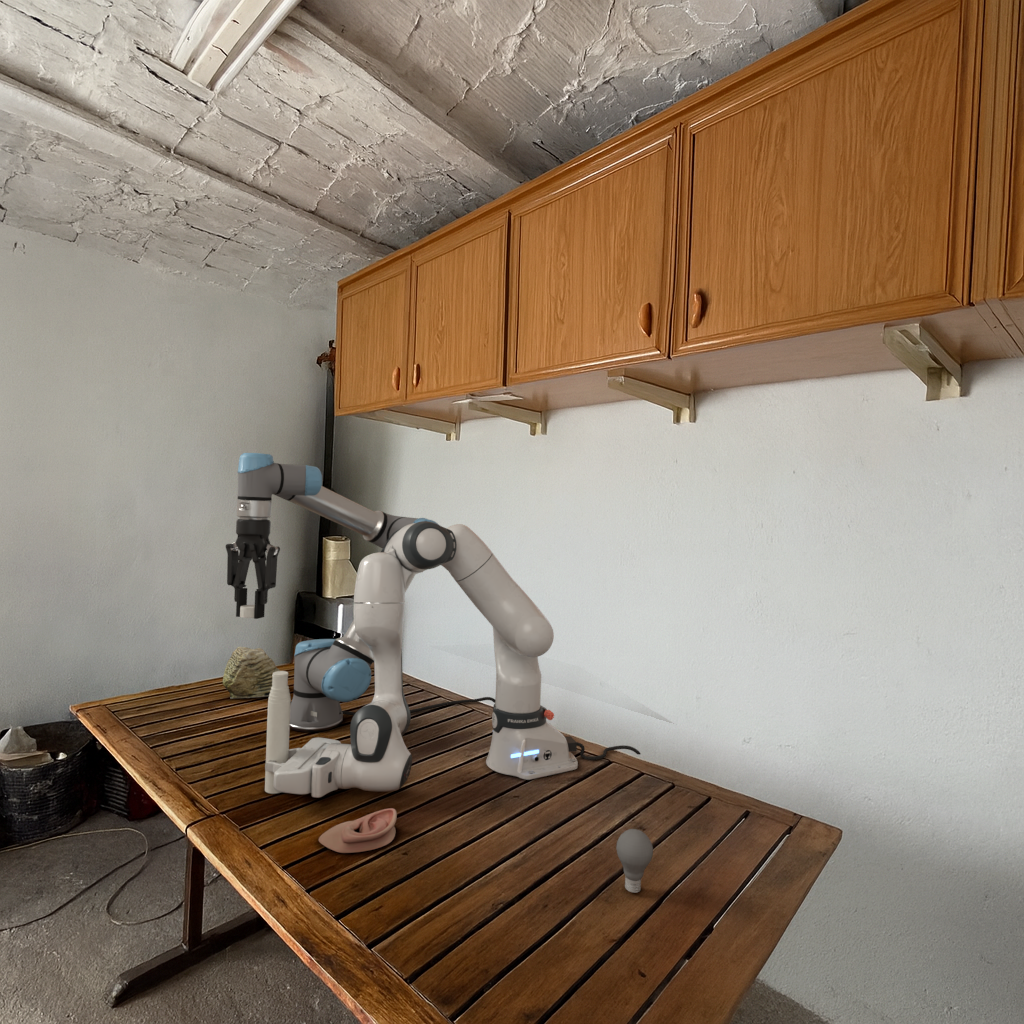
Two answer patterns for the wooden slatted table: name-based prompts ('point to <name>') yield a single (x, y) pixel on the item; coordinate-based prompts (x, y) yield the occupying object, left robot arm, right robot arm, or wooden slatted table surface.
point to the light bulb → (634, 857)
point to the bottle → (277, 725)
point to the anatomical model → (362, 833)
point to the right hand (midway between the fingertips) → (273, 759)
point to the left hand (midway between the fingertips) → (250, 616)
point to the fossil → (249, 673)
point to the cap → (247, 611)
